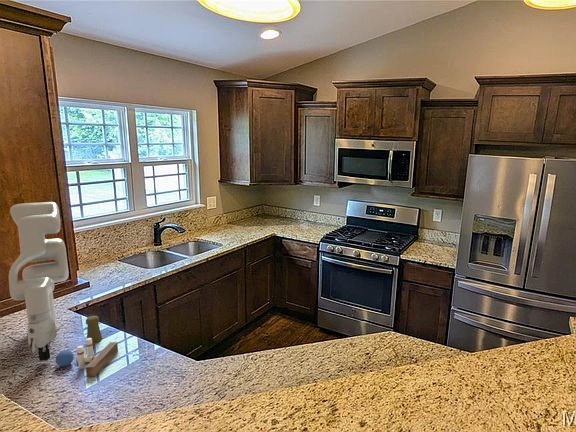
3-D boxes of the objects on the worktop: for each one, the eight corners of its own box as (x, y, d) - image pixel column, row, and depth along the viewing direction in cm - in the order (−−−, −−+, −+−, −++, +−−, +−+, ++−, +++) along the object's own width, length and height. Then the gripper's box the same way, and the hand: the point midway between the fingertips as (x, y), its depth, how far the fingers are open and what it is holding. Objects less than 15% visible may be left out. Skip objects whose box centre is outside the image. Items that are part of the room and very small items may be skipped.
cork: (98, 335, 165) (96, 312, 163) (104, 339, 161) (102, 316, 160) (84, 340, 161) (81, 317, 159) (90, 345, 157) (87, 321, 155)
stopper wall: (86, 377, 134) (85, 367, 134) (110, 351, 152) (110, 342, 151) (94, 377, 134) (93, 367, 134) (118, 351, 152) (117, 342, 151)
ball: (78, 356, 142) (74, 365, 144) (71, 344, 144) (67, 353, 146) (61, 362, 137) (57, 372, 139) (54, 350, 139) (50, 360, 141)
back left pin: (87, 358, 147) (85, 338, 145) (93, 356, 148) (91, 337, 146) (87, 361, 145) (85, 341, 143) (94, 359, 146) (92, 339, 144)
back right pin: (78, 366, 141) (76, 346, 139) (85, 365, 142) (83, 345, 140) (78, 370, 139) (76, 349, 137) (85, 368, 140) (83, 347, 138)
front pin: (78, 355, 144) (100, 354, 145) (79, 360, 145) (101, 359, 146) (75, 359, 142) (98, 358, 143) (76, 364, 143) (98, 363, 143)
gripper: (35, 324, 133) (41, 370, 136) (61, 307, 148) (66, 349, 151) (15, 324, 133) (21, 370, 136) (43, 307, 148) (48, 349, 151)
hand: (44, 359), depth 143 cm, fingers closed
